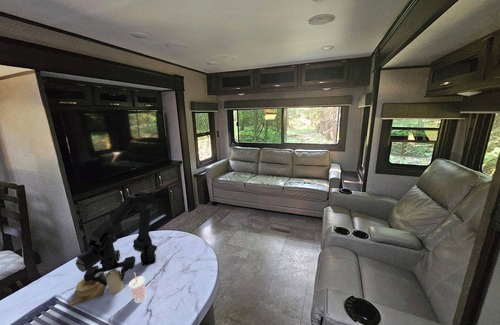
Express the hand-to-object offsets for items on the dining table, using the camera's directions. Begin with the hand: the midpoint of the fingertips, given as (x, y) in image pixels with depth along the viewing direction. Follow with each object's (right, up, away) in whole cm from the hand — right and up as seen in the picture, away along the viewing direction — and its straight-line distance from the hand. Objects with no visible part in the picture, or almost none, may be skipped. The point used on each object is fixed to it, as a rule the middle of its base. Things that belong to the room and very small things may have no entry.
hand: (115, 282), depth 93 cm
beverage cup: (+14, -5, -4) cm, 15 cm away
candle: (0, -4, +1) cm, 4 cm away
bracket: (-12, -4, +1) cm, 13 cm away
